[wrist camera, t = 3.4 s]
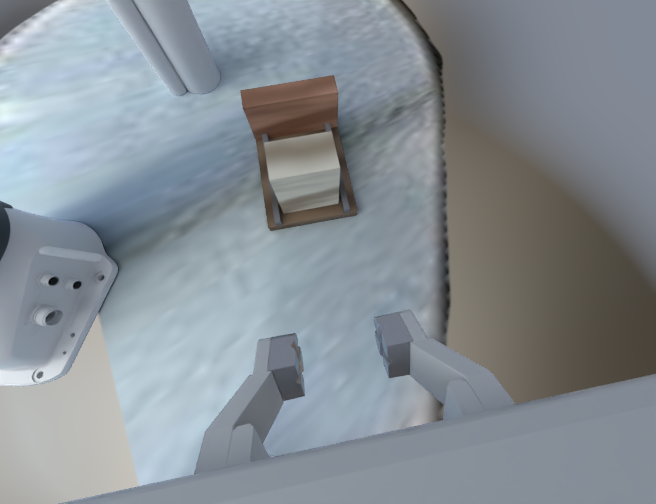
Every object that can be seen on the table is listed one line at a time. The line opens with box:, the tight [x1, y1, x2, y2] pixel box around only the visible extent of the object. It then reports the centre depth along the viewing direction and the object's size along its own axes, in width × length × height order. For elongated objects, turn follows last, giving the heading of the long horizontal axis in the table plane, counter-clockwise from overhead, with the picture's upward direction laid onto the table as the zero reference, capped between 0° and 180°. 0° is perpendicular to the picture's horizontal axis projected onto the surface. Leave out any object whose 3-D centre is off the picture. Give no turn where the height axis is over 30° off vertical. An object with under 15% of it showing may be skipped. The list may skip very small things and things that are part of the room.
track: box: [241, 75, 357, 231], centre depth 38 cm, size 18×13×8 cm
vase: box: [106, 0, 220, 96], centre depth 38 cm, size 11×7×20 cm, turn 87°
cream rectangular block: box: [264, 131, 340, 214], centre depth 35 cm, size 5×8×9 cm, turn 101°
